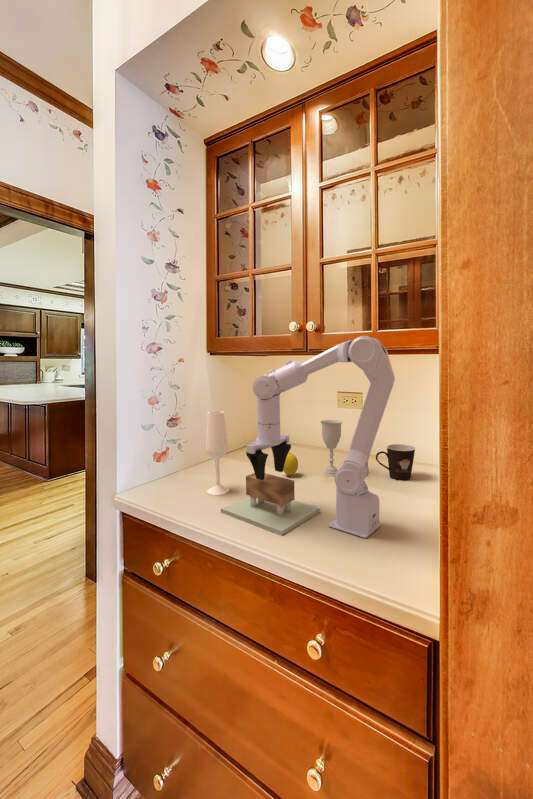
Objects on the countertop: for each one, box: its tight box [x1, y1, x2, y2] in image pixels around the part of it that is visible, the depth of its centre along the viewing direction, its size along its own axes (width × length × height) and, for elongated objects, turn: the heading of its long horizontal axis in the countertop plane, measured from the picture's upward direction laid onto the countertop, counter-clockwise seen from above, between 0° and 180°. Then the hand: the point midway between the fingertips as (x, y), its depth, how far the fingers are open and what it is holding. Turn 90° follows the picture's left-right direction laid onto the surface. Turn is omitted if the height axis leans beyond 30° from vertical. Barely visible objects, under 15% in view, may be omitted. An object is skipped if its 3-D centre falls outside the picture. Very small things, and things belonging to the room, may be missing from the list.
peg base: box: [220, 495, 321, 536], centre depth 95 cm, size 20×16×4 cm
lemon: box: [283, 452, 299, 477], centre depth 123 cm, size 6×6×8 cm
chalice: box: [320, 419, 343, 477], centre depth 123 cm, size 7×7×18 cm
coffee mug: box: [375, 443, 416, 482], centre depth 120 cm, size 12×9×10 cm
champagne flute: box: [205, 410, 230, 496], centre depth 109 cm, size 7×7×24 cm
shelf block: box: [245, 472, 296, 506], centre depth 94 cm, size 12×5×5 cm, turn 50°
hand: (269, 475), depth 94 cm, fingers open, 7 cm apart
